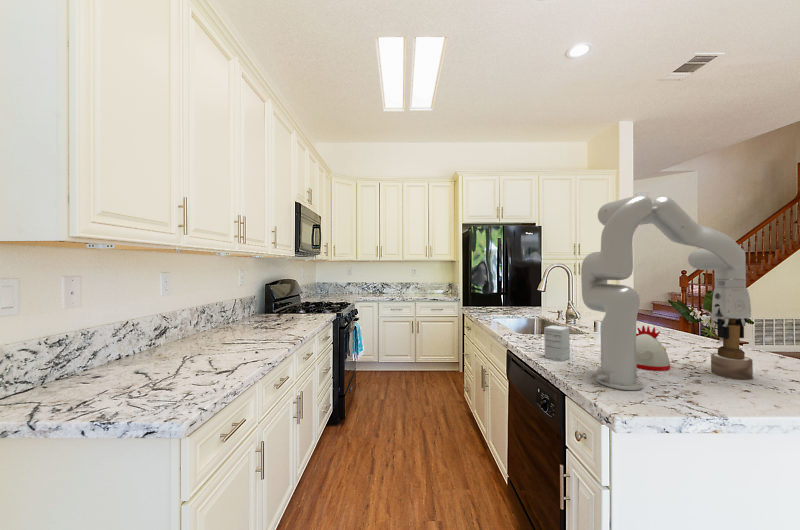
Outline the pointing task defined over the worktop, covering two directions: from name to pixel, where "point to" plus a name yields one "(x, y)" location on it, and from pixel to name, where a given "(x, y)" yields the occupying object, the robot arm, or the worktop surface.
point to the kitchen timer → (650, 351)
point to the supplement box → (557, 342)
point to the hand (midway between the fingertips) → (730, 337)
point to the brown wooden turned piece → (732, 342)
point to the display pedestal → (732, 367)
